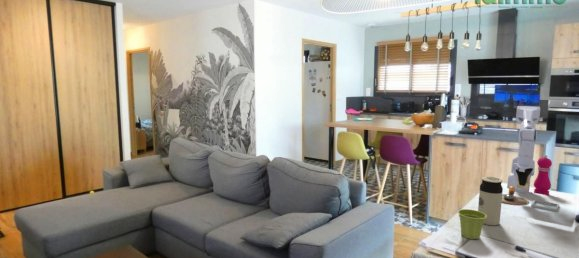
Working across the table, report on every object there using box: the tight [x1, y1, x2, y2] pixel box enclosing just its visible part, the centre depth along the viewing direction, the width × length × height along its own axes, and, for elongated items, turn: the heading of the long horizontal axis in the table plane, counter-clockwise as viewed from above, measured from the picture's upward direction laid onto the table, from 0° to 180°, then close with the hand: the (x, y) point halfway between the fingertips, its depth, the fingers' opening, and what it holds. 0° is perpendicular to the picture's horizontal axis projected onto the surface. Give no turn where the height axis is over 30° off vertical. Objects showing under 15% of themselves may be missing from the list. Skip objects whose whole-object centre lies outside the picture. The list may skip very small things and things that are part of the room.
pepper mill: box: [533, 154, 553, 196], centre depth 182 cm, size 7×7×20 cm
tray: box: [530, 199, 560, 213], centre depth 160 cm, size 9×9×2 cm
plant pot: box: [457, 208, 487, 240], centre depth 133 cm, size 9×9×9 cm
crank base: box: [501, 193, 530, 207], centre depth 170 cm, size 16×16×2 cm
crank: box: [504, 186, 516, 200], centre depth 171 cm, size 9×4×4 cm, turn 139°
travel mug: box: [477, 176, 504, 226], centre depth 145 cm, size 8×8×18 cm
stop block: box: [517, 175, 531, 189], centre depth 165 cm, size 4×4×6 cm
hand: (523, 184), depth 165 cm, fingers closed on stop block, 4 cm apart
